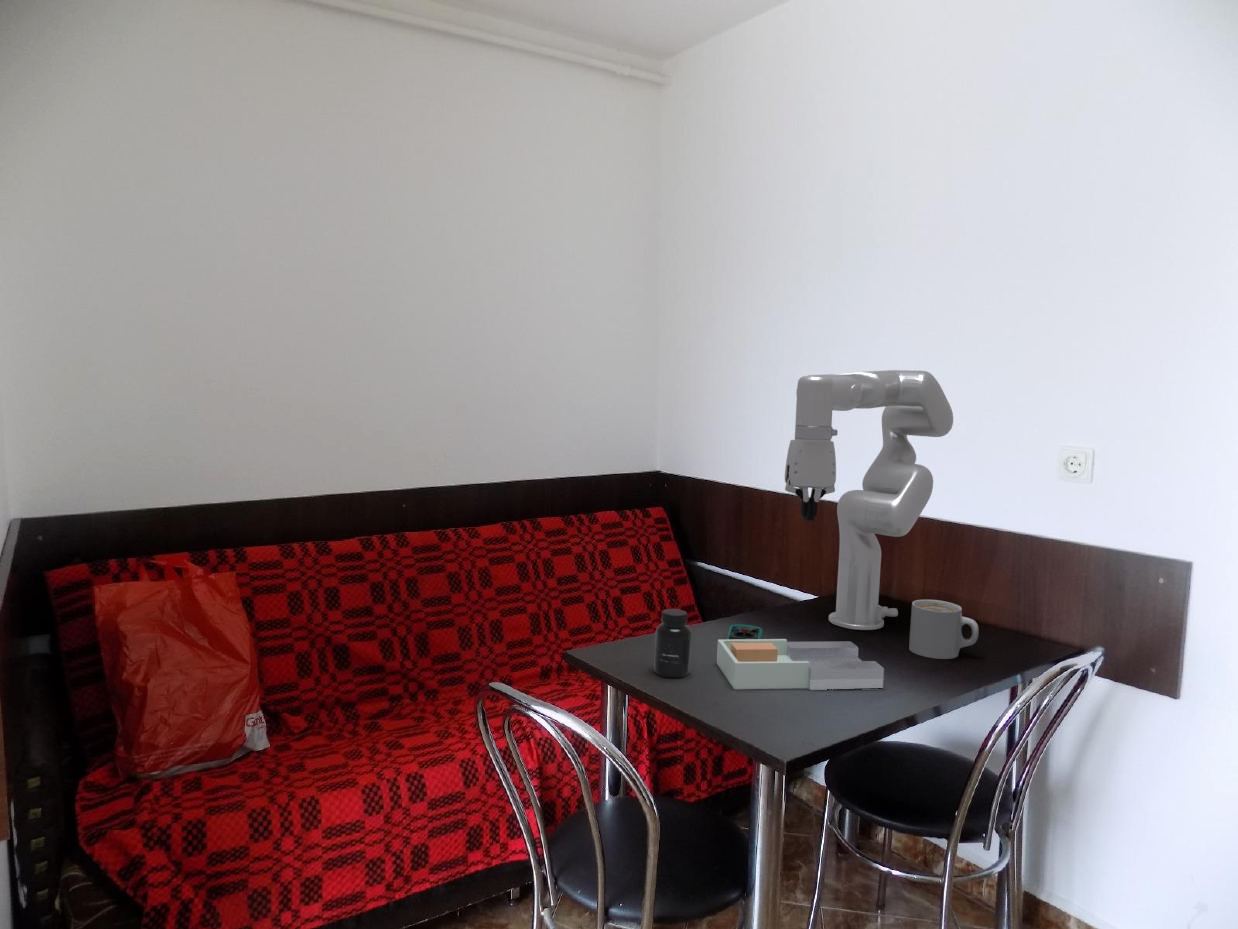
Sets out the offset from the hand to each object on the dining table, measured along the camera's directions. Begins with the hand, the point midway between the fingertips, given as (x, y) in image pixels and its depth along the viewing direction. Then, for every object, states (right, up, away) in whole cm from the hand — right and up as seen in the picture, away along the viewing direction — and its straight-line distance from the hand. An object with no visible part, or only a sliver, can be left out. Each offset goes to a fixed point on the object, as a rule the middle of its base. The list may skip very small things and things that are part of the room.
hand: (808, 519), depth 180 cm
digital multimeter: (-14, -28, 0) cm, 31 cm away
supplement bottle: (-31, -29, -19) cm, 46 cm away
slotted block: (0, -29, -17) cm, 34 cm away
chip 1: (-17, -27, -20) cm, 37 cm away
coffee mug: (+28, -29, -2) cm, 40 cm away
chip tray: (-13, -29, -19) cm, 37 cm away
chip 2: (-13, -27, -19) cm, 35 cm away
